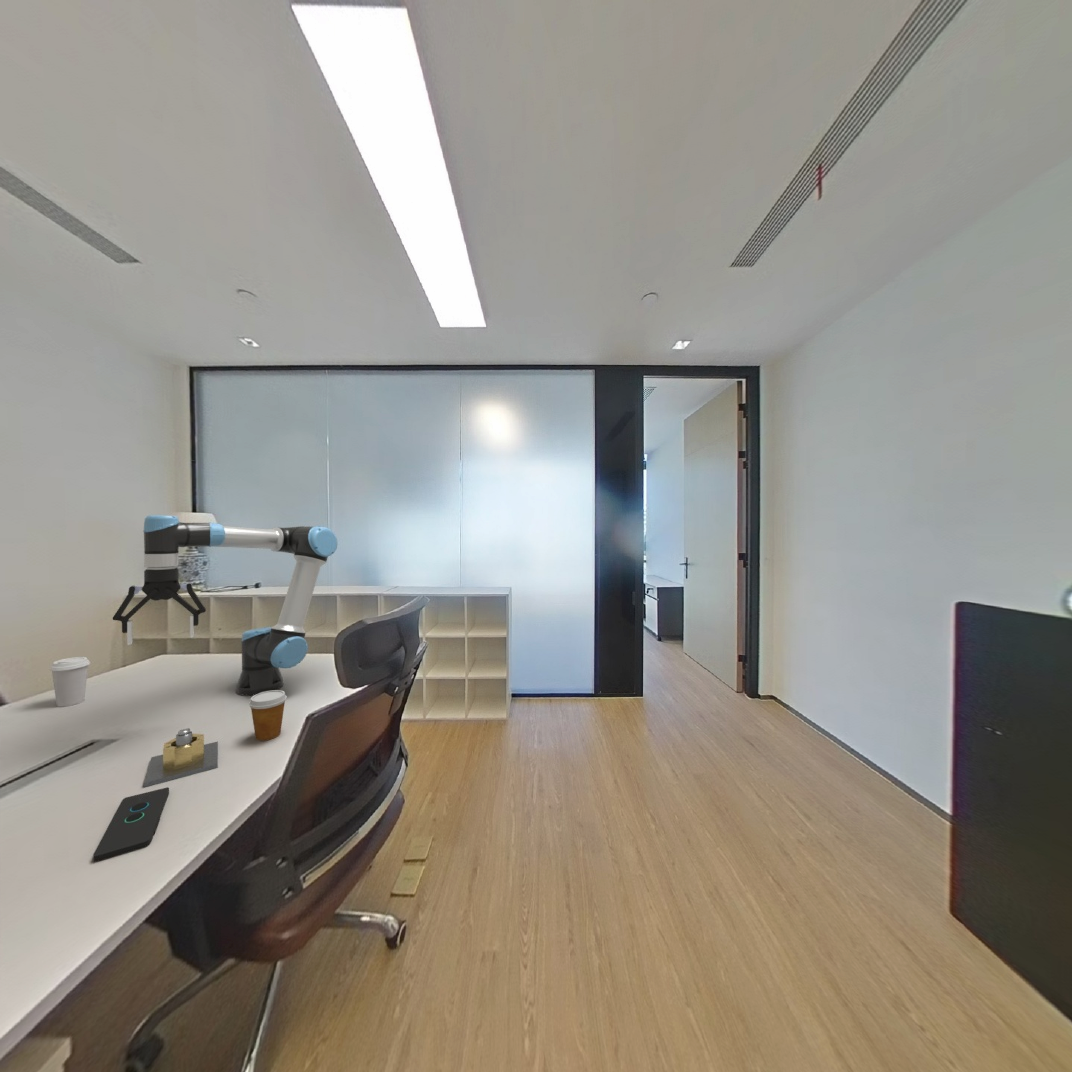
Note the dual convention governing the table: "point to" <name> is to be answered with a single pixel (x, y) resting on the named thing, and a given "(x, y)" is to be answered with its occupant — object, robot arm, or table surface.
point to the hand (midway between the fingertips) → (162, 640)
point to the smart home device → (132, 824)
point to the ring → (183, 753)
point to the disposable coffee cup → (267, 713)
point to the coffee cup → (70, 680)
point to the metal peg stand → (161, 775)
